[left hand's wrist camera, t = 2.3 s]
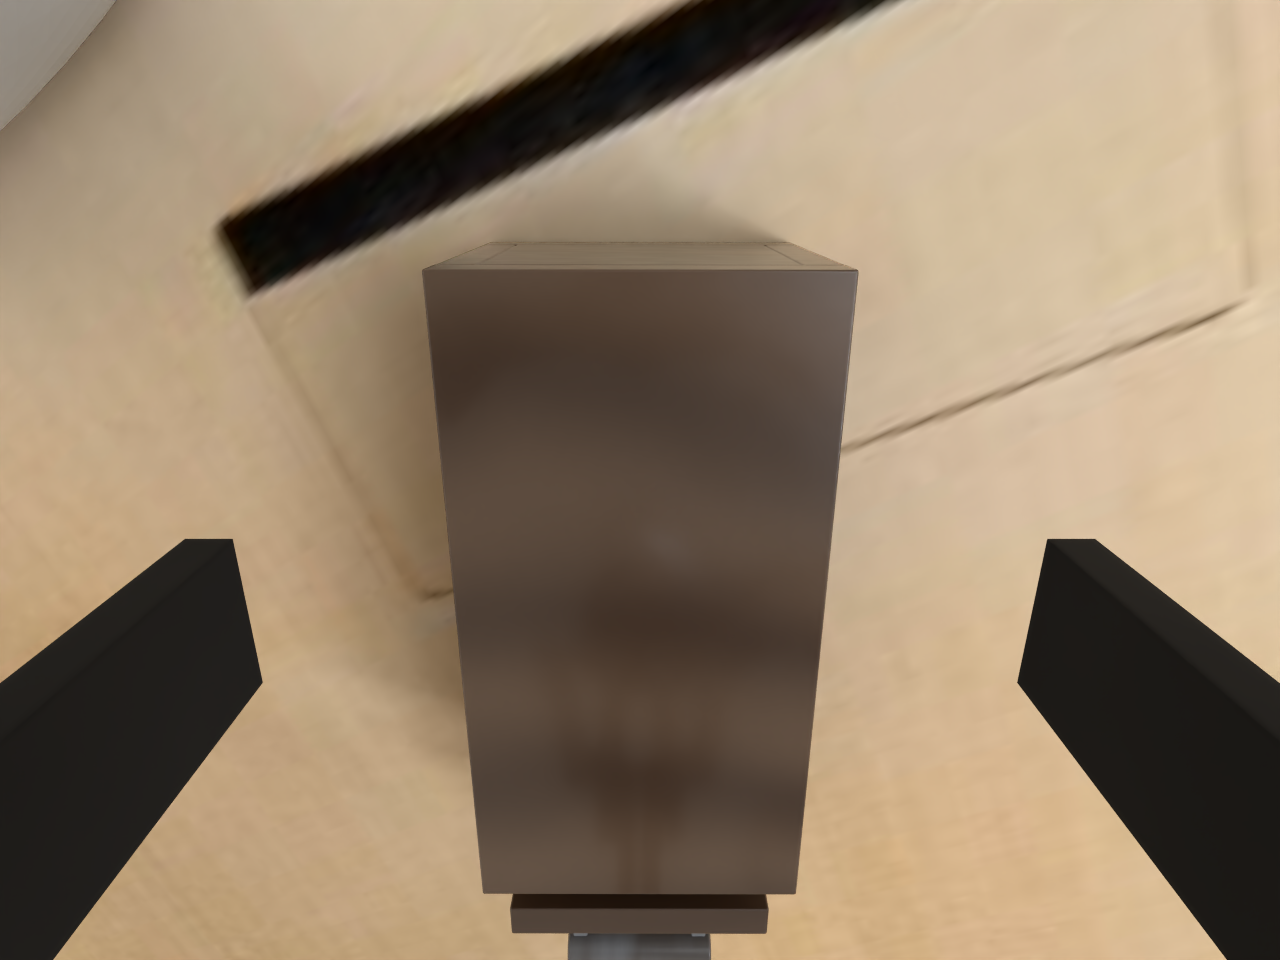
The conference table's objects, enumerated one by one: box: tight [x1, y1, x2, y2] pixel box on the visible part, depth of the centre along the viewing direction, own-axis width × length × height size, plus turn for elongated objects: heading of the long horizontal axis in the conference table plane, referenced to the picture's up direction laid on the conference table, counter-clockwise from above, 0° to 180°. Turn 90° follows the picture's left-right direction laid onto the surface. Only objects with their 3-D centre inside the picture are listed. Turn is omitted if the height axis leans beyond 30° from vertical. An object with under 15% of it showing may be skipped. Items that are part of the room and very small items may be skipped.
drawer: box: [510, 894, 769, 960], centre depth 28 cm, size 24×9×6 cm, turn 0°
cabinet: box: [422, 242, 858, 894], centre depth 25 cm, size 20×10×9 cm, turn 0°
